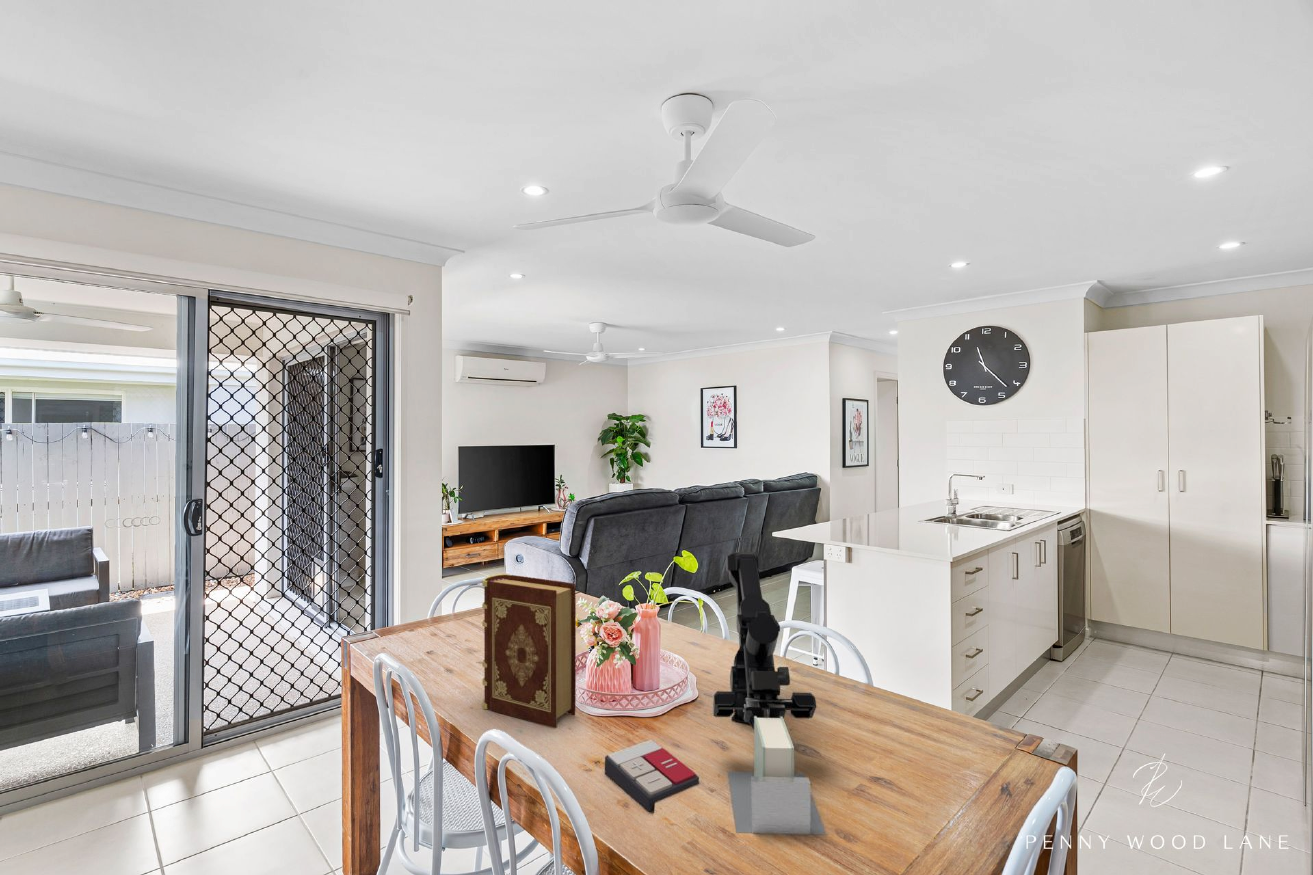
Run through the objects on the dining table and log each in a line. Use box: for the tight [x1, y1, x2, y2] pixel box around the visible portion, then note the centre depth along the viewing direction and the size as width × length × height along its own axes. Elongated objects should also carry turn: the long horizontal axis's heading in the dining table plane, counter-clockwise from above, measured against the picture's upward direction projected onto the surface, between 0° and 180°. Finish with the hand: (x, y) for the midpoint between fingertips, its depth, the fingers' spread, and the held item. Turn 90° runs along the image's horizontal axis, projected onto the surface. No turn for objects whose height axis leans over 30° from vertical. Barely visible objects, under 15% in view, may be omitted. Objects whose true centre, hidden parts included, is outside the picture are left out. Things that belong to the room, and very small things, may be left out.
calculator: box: [604, 739, 700, 813], centre depth 113 cm, size 11×4×15 cm
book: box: [753, 716, 795, 777], centre depth 104 cm, size 11×5×12 cm, turn 178°
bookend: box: [751, 776, 811, 835], centre depth 97 cm, size 2×9×8 cm, turn 88°
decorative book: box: [481, 573, 577, 728], centre depth 142 cm, size 22×8×30 cm, turn 62°
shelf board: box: [727, 770, 827, 836], centre depth 105 cm, size 18×14×2 cm
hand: (768, 753), depth 110 cm, fingers closed, pressing on book
